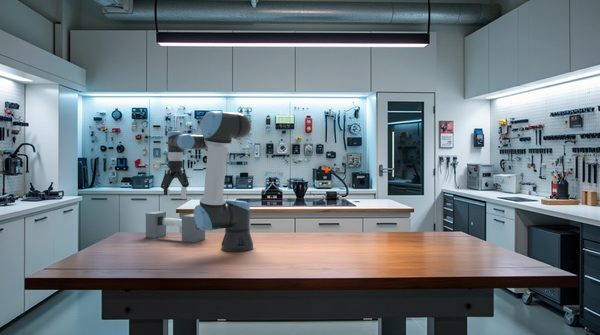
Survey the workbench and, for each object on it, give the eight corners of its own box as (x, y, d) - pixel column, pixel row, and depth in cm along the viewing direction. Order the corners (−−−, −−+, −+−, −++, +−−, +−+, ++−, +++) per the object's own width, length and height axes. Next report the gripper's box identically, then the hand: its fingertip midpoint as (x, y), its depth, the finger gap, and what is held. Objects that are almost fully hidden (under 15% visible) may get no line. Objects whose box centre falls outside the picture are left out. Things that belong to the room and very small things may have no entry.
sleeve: (205, 239, 223) (205, 214, 222) (194, 242, 214) (194, 216, 214) (192, 237, 226) (192, 213, 225) (181, 240, 218) (181, 215, 217)
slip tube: (205, 228, 220) (205, 219, 219) (200, 229, 216) (200, 221, 215) (167, 224, 229) (167, 216, 229) (161, 226, 225) (161, 218, 225)
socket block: (166, 235, 233) (165, 211, 232) (154, 238, 225) (154, 213, 224) (157, 234, 235) (157, 211, 235) (145, 237, 227) (145, 213, 227)
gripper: (184, 160, 236) (184, 197, 237) (153, 160, 213) (153, 202, 214) (195, 160, 233) (195, 198, 234) (165, 160, 210) (165, 202, 211)
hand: (175, 200), depth 224 cm, fingers open, 13 cm apart
